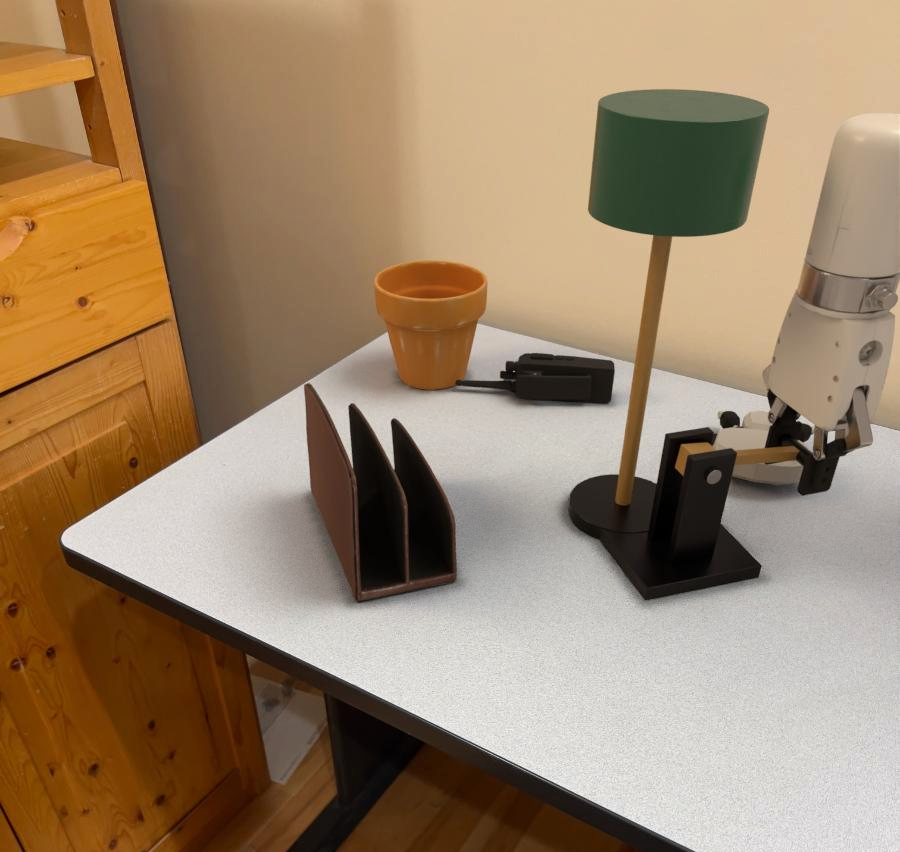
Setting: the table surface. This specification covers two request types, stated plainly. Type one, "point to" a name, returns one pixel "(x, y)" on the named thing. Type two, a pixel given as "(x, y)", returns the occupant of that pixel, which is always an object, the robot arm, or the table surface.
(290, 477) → the table surface
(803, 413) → the robot arm
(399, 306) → the flower pot
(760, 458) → the switch lever
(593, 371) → the walkie-talkie
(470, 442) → the table surface
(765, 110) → the desk lamp
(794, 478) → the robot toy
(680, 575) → the black pivot bracket
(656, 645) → the table surface
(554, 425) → the table surface
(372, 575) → the letter holder
